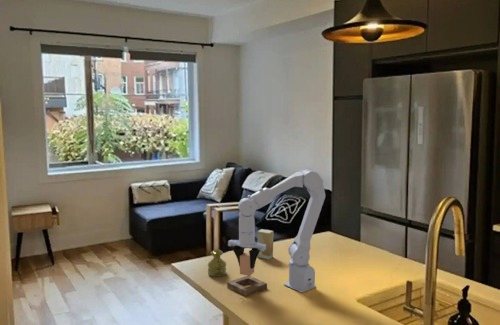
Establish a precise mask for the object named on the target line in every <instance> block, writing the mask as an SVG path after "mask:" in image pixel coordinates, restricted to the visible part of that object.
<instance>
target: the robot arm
mask: <svg viewBox="0 0 500 325" xmlns="http://www.w3.org/2000/svg"><path fill="white" fill-rule="evenodd" d="M304 187H305V188H306V191H307V192H308V194H309V197H310V198H309V199H308V203H307V206H306V209H305V211H304V215H303V218H302V221H301V224H300V226H299V230H298V233H297V235H296V236H295V237H294V238H293V241H292V243H291V244H289V246H288V254H289V256H290V259H289V260H288V262H289V263H288V281H287V282H285V283H283V286H284V287H285V286H286V287H288V288H291V289H293V290H295V291H298V292H300V293H304V292H307V291H309V290H312V289H315V288H316V287H317V285H316V280H315V279H316V271H315V268H314V267H313V266H311V265H310V262H309V261H310V260H311V259H310V250H311V241H312V240H311V239H312V237H313V233H314V231H315V228H316V226H317V222H318V219H319V218H320V213H321V211H322V207H323V205H324V202H325V199H326V192H325V187H324V179H323V178H322V177H321V176H320V174H319V173H318V172H317V171H314V170H313V169H311V168H307V167H305V168H303V169H302V170H300V171H296V172H295V173H293V174H291V175H289V176H288V177H287V178H284V179H283V180H281V181H280V182H278V183H277V184H275V185H273V186H272V187H270V188H269V187H259V188H258V191H256V192H254V193H253V194H251V195H250V194H248V195H247V197H244V198H241V199H240V200H239V202H238V205H237V208H238V210H239V213H238V217H239V218H238V239H230V240H228V241H227V246H228V247H234V248H232V251H233V253H234V254H235V256H236V257H235V258H236V259H237V262H238V267H239V268H240V255H242V254H243V253H245V249H250V250H248V253H249V254H250V267H251V269H253V268H254V269H255V266H256V263H257V262H256V261H257V258H258V257H257V256H258V254H259V252H260V250H262V251H265V250H266V244H261V243H258V242H257V241H256V240H255V239H256V238H255V237H256V236H255V233H256V231H255V230H256V228H255V227H256V226H255V224H256V223H255V222H256V221H255V220H256V219H255V212H256V210H259V209H261V208H263V207H265V206H266V205H268V204H270V203H272V202H273V201H274V199H275V197H276V196H278V195H280V194H282V193H284V192H286V191H288V190H290V189H292V188H304Z"/></svg>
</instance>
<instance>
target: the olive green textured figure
mask: <svg viewBox="0 0 500 325" xmlns="http://www.w3.org/2000/svg"><path fill="white" fill-rule="evenodd" d="M223 254H224V252H223V251H222V250H221V249H219V248H218V249H217V248H215V249H213V250H212V251H210V255H211V256H212V257H213V258H211V260H210V261H208V263H207V267H208V268H207V274H208V275H209V276H211V277H214V278H215V277H217V278H218V277H219V278H220V277H222V276H225V275H227V268H226V266H227V262H226V261H225V260H224V259H223V258H221V256H223Z"/></svg>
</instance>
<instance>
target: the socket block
mask: <svg viewBox="0 0 500 325" xmlns="http://www.w3.org/2000/svg"><path fill="white" fill-rule="evenodd" d="M246 284H249V285H250V286H246V287H245V286H243V285H246ZM226 286H227V288H228V289H230V290H232V291H234V292H236V293H237V294H240V295H242V296H244V297H247V296H250V295H253V294H256V293H258V292H261V291H264V290H267V289H268V283H267V282H265V281H263V280H261V279H258V278H255V277H254V276H252V275H250V276H248V275H244V276H242V277H238V278H235V279H233V280H229V281H227V282H226Z"/></svg>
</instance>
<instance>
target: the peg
mask: <svg viewBox="0 0 500 325" xmlns="http://www.w3.org/2000/svg"><path fill="white" fill-rule="evenodd" d="M254 273H255V267H254V268H253V269H251V267H250V254H249V252H244V253H243V254H242V255H240V267H239V275H243V276H252V275H253V274H254Z"/></svg>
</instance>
